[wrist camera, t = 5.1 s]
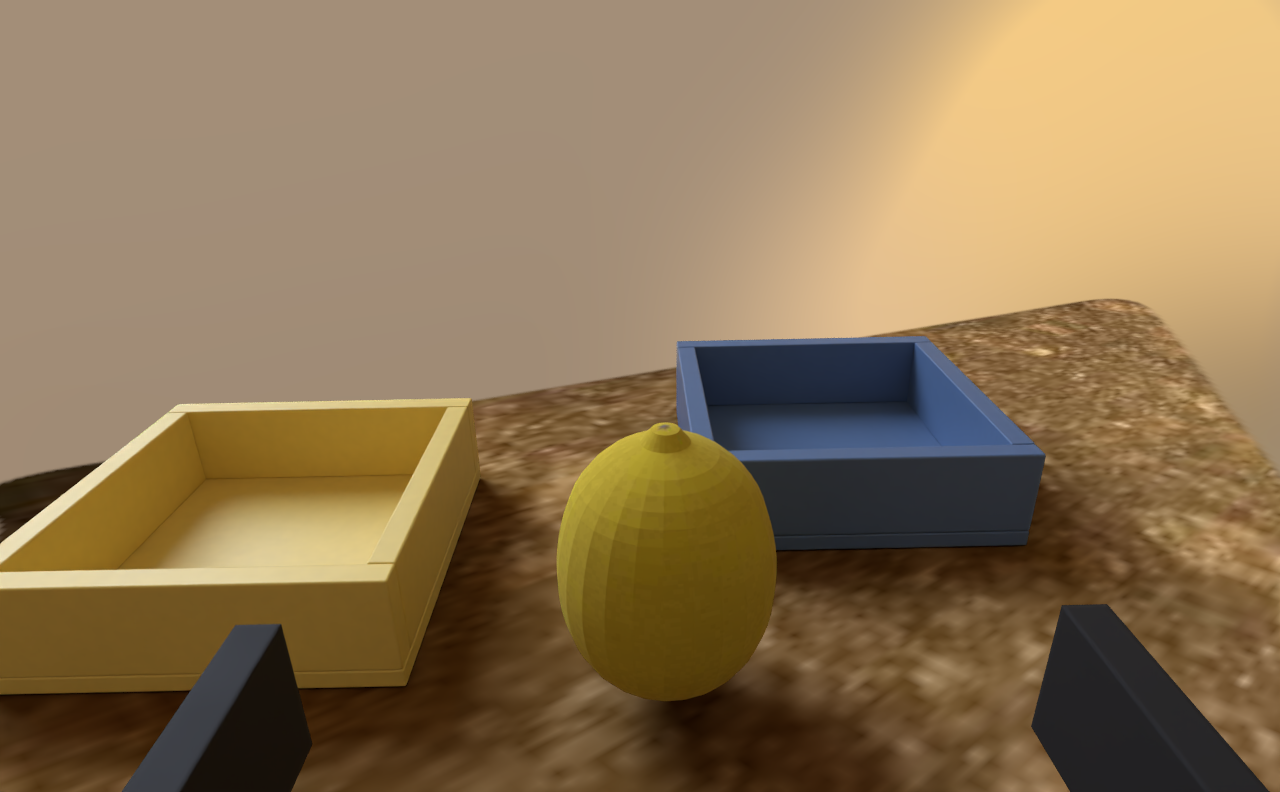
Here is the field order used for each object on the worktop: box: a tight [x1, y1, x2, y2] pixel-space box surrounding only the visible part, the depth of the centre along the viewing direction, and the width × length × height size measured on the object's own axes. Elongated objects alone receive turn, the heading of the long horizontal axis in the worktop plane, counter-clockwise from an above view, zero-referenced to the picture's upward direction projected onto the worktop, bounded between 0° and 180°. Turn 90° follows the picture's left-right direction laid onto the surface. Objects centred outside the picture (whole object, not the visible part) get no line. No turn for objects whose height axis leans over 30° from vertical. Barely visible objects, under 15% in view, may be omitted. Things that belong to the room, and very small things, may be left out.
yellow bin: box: [0, 398, 481, 694], centre depth 26 cm, size 12×12×4 cm
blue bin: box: [677, 336, 1046, 550], centre depth 32 cm, size 12×12×4 cm
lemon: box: [557, 423, 777, 701], centre depth 20 cm, size 6×6×8 cm
